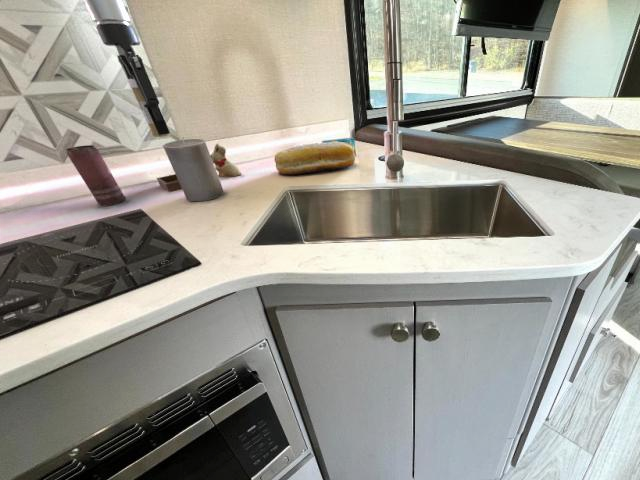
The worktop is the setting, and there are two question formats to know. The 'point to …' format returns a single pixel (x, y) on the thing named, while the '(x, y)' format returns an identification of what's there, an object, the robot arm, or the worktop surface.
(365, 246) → the worktop surface
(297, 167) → the bread
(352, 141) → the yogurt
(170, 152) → the pillar candle
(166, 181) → the tray
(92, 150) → the can
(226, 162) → the dog figurine
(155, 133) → the sprinkles bottle
